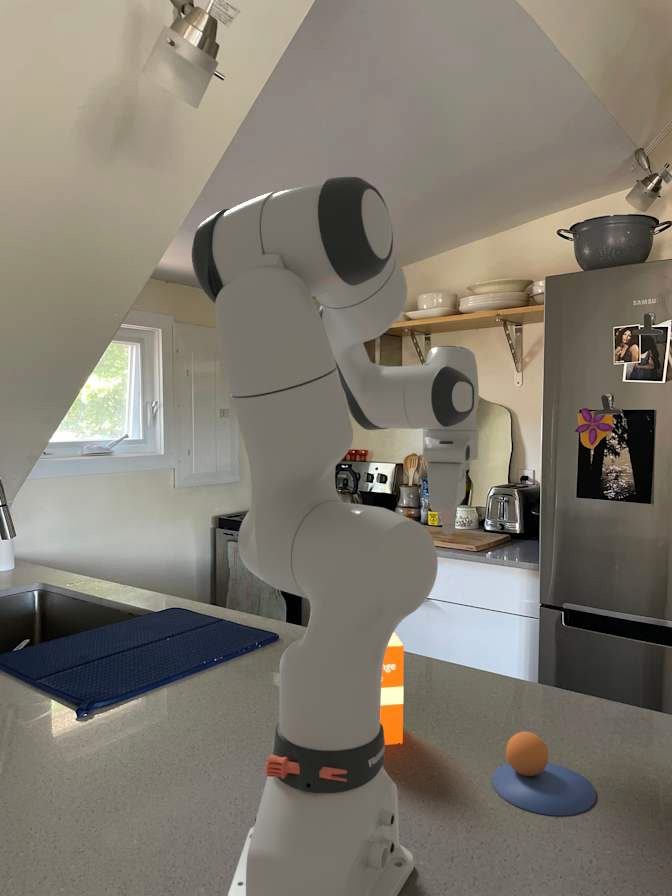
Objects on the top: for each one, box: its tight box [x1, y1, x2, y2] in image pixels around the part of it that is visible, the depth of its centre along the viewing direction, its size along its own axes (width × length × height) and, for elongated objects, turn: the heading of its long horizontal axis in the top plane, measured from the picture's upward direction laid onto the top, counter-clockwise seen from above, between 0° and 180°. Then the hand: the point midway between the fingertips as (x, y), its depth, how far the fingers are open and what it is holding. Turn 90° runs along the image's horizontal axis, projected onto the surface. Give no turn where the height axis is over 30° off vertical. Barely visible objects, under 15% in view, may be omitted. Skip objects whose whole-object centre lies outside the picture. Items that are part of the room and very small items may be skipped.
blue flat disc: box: [491, 762, 597, 817], centre depth 91 cm, size 13×13×1 cm
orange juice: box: [380, 631, 405, 746], centre depth 106 cm, size 8×9×20 cm
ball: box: [505, 731, 549, 776], centre depth 94 cm, size 6×6×6 cm
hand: (448, 533), depth 114 cm, fingers closed
